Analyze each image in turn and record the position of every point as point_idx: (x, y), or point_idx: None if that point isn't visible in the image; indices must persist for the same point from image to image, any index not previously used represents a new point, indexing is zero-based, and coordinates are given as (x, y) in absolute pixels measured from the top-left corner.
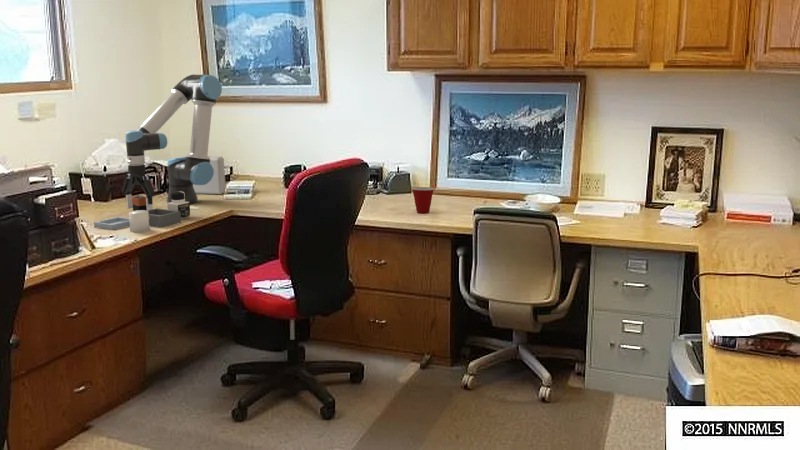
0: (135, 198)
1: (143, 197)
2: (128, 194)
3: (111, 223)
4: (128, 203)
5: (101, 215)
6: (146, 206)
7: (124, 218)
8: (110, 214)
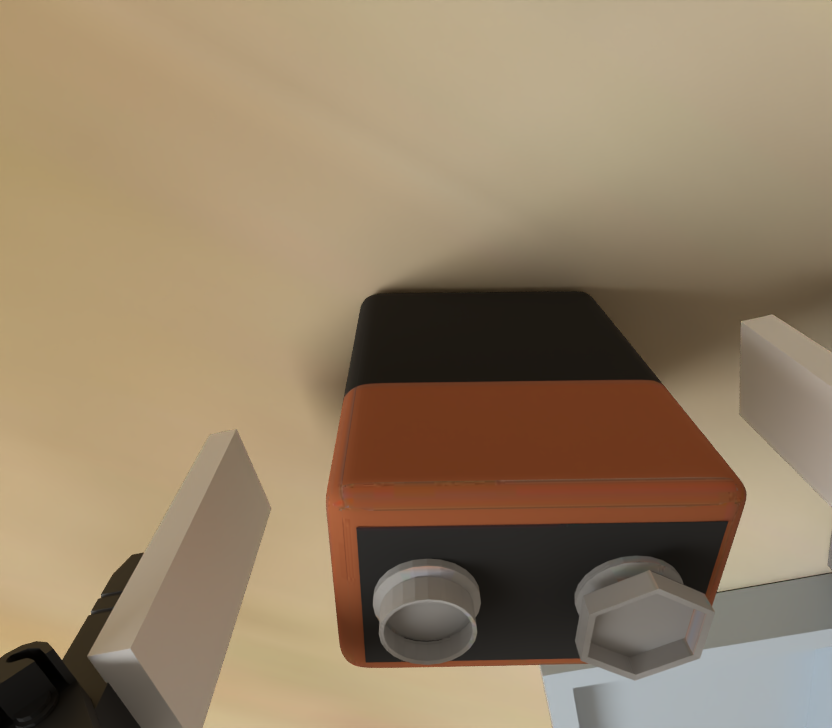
0: (539, 662)
1: (674, 551)
2: (122, 709)
3: (618, 719)
4: (242, 562)
5: (46, 619)
6: (794, 469)
7: (687, 666)
8: (42, 545)
